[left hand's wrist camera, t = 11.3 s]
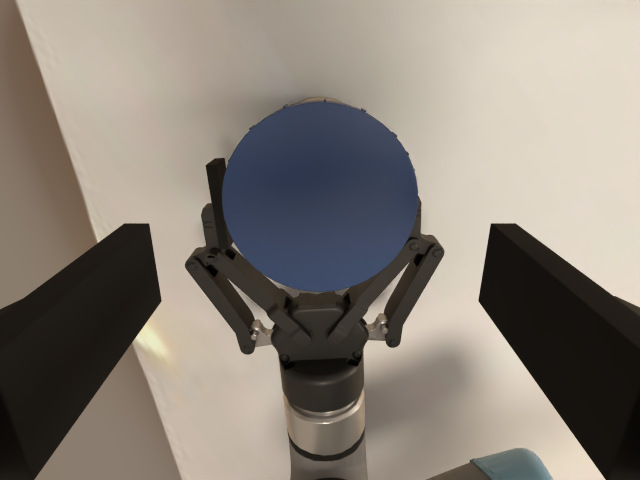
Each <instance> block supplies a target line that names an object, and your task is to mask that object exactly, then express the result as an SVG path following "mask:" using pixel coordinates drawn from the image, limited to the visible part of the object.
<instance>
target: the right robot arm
mask: <svg viewBox="0 0 640 480" xmlns="http://www.w3.org/2000/svg"><path fill="white" fill-rule="evenodd" d="M407 154H408V156H409V153H408V152H407ZM206 170H207V176H208V182H209V189H210V195H211V201H212V203H210V204H207V205H206V206H205V207H204V208H203V210H202V214H201V217H202V222H203V229H204V235H205V240H206V246H205V247H199V248H196V249H195V250H194V252H193V253H192V254H191V256H190V257H189V259H188V260H187V261H186V263H185V267H186V269H187V271H188V272H189V273H190V275H191V276H192V277H193V279H194V280H195V281H196V282H197V284H198V285H199V286H200V288H201V289H202V290H203V292H204V293H205V294H206V295H207V297H208V298H209V299H210V301H211V302H212V303H213V305H214V306H215V307H216V309H217V310H218V311H219V312H220V314H221V315H222V316H223V318H224V319H225V320H226V322H227V323H228V324H229V325H230V327H231V328H232V329H233V331H234V332H235V333H236V336H237V340H238V343H239V346H240V350H241V352H242V353H244V354H252V353H253V352H254V349H255V347H258V346H265V345H273V346H274V347H275V348H276V350H277V352H278V355H279V362H280V371H281V379H282V388H283V392H284V397H283V398H284V405H285V413H286V421H287V430H288V436H289V444H290V456H291V479H290V480H368V475H367V465H366V449H365V400H364V388H363V386H364V362H363V348H364V345H365V343H366V342H367V340H381V341H386V344H387V346H389V347H391V348H394V347H397V346H398V345H399V344H400V341H401V334H402V327H403V324H404V322H405V321H406V319H407V317H408V316H409V314H410V312H411V310H412V309H413V307H414V305H415V304H416V302H417V300H418V298H419V297H420V295H421V293H422V292H423V290H424V288H425V287H426V285H427V283H428V281H429V280H430V278H431V276H432V275H433V273H434V271H435V269H436V268H437V266H438V264H439V263H440V261H441V259H442V258H443V256H444V249H443V248H442V246H441V245H440V243H439V242H438V241H437V239H436V238H435V237H434V236H433V235H424V234H421V233H420V229H421V201H420V198H419V196H418V206H417V213H416V218H415V222H414V225H413V228H412V231H411V233H410V235H409V238H408V240H407V241H406V243H405V245H404V246H403V248H402V250H401V251H400V252H399V253H398V255H397V256H396V257H395V259H394V260H393V261H392V262H391V263H390V264H389V265H388V266H387V267H385V268H384V269H383V270H381V271H380V272H379V273H378V274H376V275H375V276H373V277H371V278H370V279H368V280H366V281H364V282H362V283H359V284H357V285H355V286H351V287H350V288H349V289H348V290H347V291H346V292H345V294H344V295H343V296H340V295H337V294H335V292H325V293H322V294H318V295H316V294H311V293H300V294H299V296H298V297H295V298H292V297H291V296H290V295H289V294H288V293H287V292H286V291H285V290H283V289H281V288H280V289H279V288H278V287H277V286H275V285H274V284H273V283H272V282H271V281H270V280H269V279H268V278H267V277H265V276H264V275H263V274H262V273H261V272H260V271H258V270H257V269H256V268H255V267H254V266H253V265H251V264H250V263H249V262H248V261H247V260H246V259H245V258H244V257H243V256H242V255H241V254H240V253H239V252H238V251H236V250H235V249H234V248H233V247H232V246H231V245H232V243H233V240H232V237H231V235H230V233H229V231H228V228H227V225H226V222H225V219H224V213H223V208H222V188H223V180H224V176H225V172H226V165H225V158H216V159H214V160H212V161H211V162H210V163H208V164H207V165H206ZM409 262H410V263H409ZM408 263H409V264H408ZM407 264H408V266H407V268H406V270H405V271H404V273H403V275H402V277H401V279H400V280H399V282H398V284H397V286H396V288H395V289H394V291H393V293H392V295H391V297H390V298H389V300H388V302H387V304H386V307H385V310H384V314H382V313H380V314H379V315H378V317H377V318H376V320H375V322H374V323H372V324H367V323H366V321H365V320H364V319H363V318H362V317H363V316H364V315H365V314H366V313H367V311H368V308H369V306H370V305H371V303H372V302H373V301H374V300H375V299H376V298H377V297H378V296H379V295H380V294H381V292H382V291H383V290H384V289H385V288H386V287H387V286H388V285H389V284H390V283H391V281H392V280H393V279H394V278H395V277H396V276H397V275H398V274H399V273H400V272H401V271H402V269H403V268H404V267H405V266H406V265H407ZM227 278H228V279H229V280H230V281H231V282H232V283H234V284H235V285H236V286H237V287H238V288H239V289H241V290H242V291H243V292H244V293H245V294H246V295H248V296H249V297H250V298H251V299H252V300H253V301H254V302H256V303H257V304H258V305H259V306H260V307H261V308H263V309H264V310H265V311H266V313H267V315H268V317H269V318H270V319H271V320H272V321H273V322H274V323H275V324H274V326H273V328H272V329H267V328H265V327H264V326H263V324H262V323H261V321H260V320H258V319H257V320H255V319H254V316H253V314H252V312H251V310H250V309H249V307H248V306H247V305H246V303H245V302H244V301H243V299H242V298H241V296H240V295H239V294H238V292H237V291H236V290H235V288H234V287H233V286H232V284H231V283H230V282H229V280H228V279H227ZM426 480H553V479H552V477H551V475H550V474H549V472H548V470H547V469H546V467H545V465H544V464H543V462H542V461H541V460H540V458H539V457H538V456H537V455H536V454H535V453H533V452H532V451H530V450H528V449H524V448H515V449H512V450H508V451H504V452H500V453H497V454H493V455H489V456H485V457H482V458H478V459H471V460H470V463H468V464H465V465H463V466H460V467H457V468H455V469H452V470H450V471H447V472H445V473H442V474H439V475H437V476H434V477H432V478H429V479H426Z"/></svg>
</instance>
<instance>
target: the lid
mask: <svg viewBox="0 0 640 480" xmlns="http://www.w3.org/2000/svg"><path fill="white" fill-rule="evenodd" d="M249 130H250V131H249V132H248V133H247V134H246V135H245V136H244V138H243V139H242V140H241V142H240V143H239V144H238V146H237V147H236V149H235V151H234V152H233V154H232V156H231V158H230V159H229V161H228V162H229V163H228V166H227V168H226V172H225V176H224V180H223V188H222V208H223V213H224V219H225V222H226V225H227V228H228V231H229V233H230V235H231V237H232V240H233V242H234V243H235V245H236V246H237V248H238V249H239V251H240V252H241V254H242V255H243V256H244V257H245V258H246V260H247V261H248V262H249V263H250V264H251V265H253V266H254V267H255V268H256V269H257V270H258V271H260V272H261V273H262V274H264V275H265V276H267V277H269V278H270V279H272V280H274V281H276V282H278V283H281V284H283V285H285V286H288V287H292V288H295V289H299V290H306V291H318V292H324V291H335V290H340V289H345V288H348V287H351V286H355V285H357V284H359V283H362V282H364V281H366V280H368V279H370V278H371V277H373V276H375V275H376V274H378V273H379V272H380V271H381V270H383V269H384V268H385V267H387V266H388V265H389V264H390V263H391V262H392V261H393V260H394V259H395V257H396V256H397V255H398V253H399V252H400V251H401V250H402V248H403V246H404V245H405V243H406V241H407V240H408V238H409V235H410V233H411V231H412V228H413V225H414V222H415V218H416V213H417V206H418V188H417V180H416V176H415V172H414V171H415V170H414V168H413V165H412V163H411V161H410V158H409V156H408V154H407V152H406V151H405V149H404V147H403V146H402V144H401V143H400V141H399V140H398V139H397V138H396V137H397V135H396V134H394V133H393V132H391V131H390V130H389V129H388V128H387V127H385V126H384V125H383V124H382V123H381V122H379V121H378V120H377V119H375V118H374V117H372V116H371V115H369V114H368V113H366V110H364V109H363V108H362V109H361V110H360V109H358V108H356V107H353V106H350V105H347V104H344V103H339V102H334V101H326V99H324V101H322V100H316V101H305V102H301V103H296V104H292V105H290V106H288V105H285V106H283V108H282V109H280V110H278V111H276V112H274V113H272V114H271V115H269V116H268V117H266V118H265V119H264V120H262V121H261V122H259V123H258V124H257V125H253V126H252V127H251V128H250V129H249Z"/></svg>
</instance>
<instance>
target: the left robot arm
mask: <svg viewBox="0 0 640 480" xmlns="http://www.w3.org/2000/svg"><path fill="white" fill-rule="evenodd" d="M160 302H161V295H160V288H159V282H158V276H157V270H156V264H155V258H154V251H153V245H152V239H151V233H150V227H149V224H123V225H122V226H120V227H119V228H118V229H116V230H115V231H114V232H112V233H111V234H110V235H108V236H107V237H106V238H104V239H103V240H102V241H100V242H99V243H98V244H96V245H95V246H94V247H92V248H91V249H90V250H88V251H87V252H85V253H84V254H83V255H81V256H80V257H79V258H77V259H76V260H75V261H73V262H72V263H71V264H69V265H68V266H67V267H65V268H64V269H62V270H61V271H60V272H59V273H57V274H56V275H54V276H53V277H52V278H50V279H49V280H48V281H46V282H45V283H44V284H42V285H41V286H40V287H38V288H37V289H36V290H34V291H33V292H31V293H30V294H29V295H27V296H26V297H25V298H23V299H21V300H19V301H17V302H15V303H13V304H11V305H8V306H6V307H4V308H2V309H0V480H34V479H35V478H36V476H37V475H38V474H39V472H40V471H41V469H42V468H43V467H44V465H45V464H46V462H47V461H48V460H49V458H50V457H51V455H52V454H53V453H54V451H55V450H56V448H57V447H58V446H59V444H60V443H61V441H62V440H63V439H64V437H65V436H66V434H67V433H68V432H69V430H70V429H71V427H72V426H73V425H74V423H75V422H76V420H77V419H78V417H79V416H80V415H81V413H82V412H83V411H84V409H85V408H86V406H87V405H88V404H89V402H90V401H91V399H92V398H93V396H94V395H95V394H96V392H97V391H98V389H99V388H100V387H101V385H102V384H103V382H104V381H105V380H106V378H107V377H108V375H109V374H110V372H111V371H112V370H113V368H114V367H115V366H116V364H117V363H118V361H119V360H120V359H121V357H122V356H123V354H124V353H125V352H126V350H127V349H128V347H129V346H130V345H131V343H132V342H133V340H134V339H135V338H136V336H137V335H138V333H139V332H140V331H141V329H142V328H143V326H144V325H145V324H146V322H147V321H148V319H149V318H150V316H151V315H152V314H153V312H154V311H155V309H156V308H157V307H158V305H159V304H160ZM479 302H480V304H481V305H482V307H483V308H484V309H485V311H486V312H487V314H488V315H489V316H490V318H491V319H492V321H493V322H494V324H495V325H496V326H497V328H498V329H499V331H500V332H501V333H502V335H503V336H504V338H505V339H506V340H507V342H508V343H509V345H510V346H511V347H512V349H513V350H514V352H515V353H516V354H517V356H518V357H519V359H520V360H521V361H522V363H523V364H524V366H525V367H526V368H527V370H528V371H529V373H530V374H531V375H532V377H533V378H534V380H535V381H536V382H537V384H538V385H539V387H540V388H541V389H542V391H543V392H544V394H545V395H546V396H547V398H548V399H549V401H550V402H551V404H552V405H553V406H554V408H555V409H556V411H557V412H558V413H559V415H560V416H561V418H562V419H563V420H564V422H565V423H566V425H567V426H568V427H569V429H570V430H571V432H572V433H573V434H574V436H575V437H576V439H577V440H578V441H579V443H580V444H581V446H582V447H583V448H584V450H585V451H586V453H587V454H588V455H589V457H590V458H591V460H592V461H593V462H594V464H595V465H596V467H597V468H598V469H599V471H600V472H601V474H602V475H603V476H604V478H605V479H606V480H640V307H638V306H635V305H633V304H631V303H629V302H627V301H625V300H622V299H620V298H618V297H616V296H613V295H611V294H610V293H609V292H607V291H606V290H604V289H603V288H602V287H600V286H599V285H598V284H596V283H595V282H594V281H592V280H591V279H590V278H588V277H587V276H586V275H584V274H583V273H582V272H580V271H579V270H578V269H576V268H575V267H573V266H572V265H571V264H569V263H568V262H567V261H565V260H564V259H563V258H561V257H560V256H559V255H557V254H556V253H555V252H553V251H552V250H551V249H549V248H548V247H546V246H545V245H544V244H542V243H541V242H540V241H538V240H537V239H536V238H534V237H533V236H532V235H530V234H529V233H528V232H526V231H525V230H524V229H522V228H521V227H520V226H518V225H517V224H491V227H490V233H489V239H488V245H487V251H486V258H485V264H484V270H483V276H482V282H481V288H480V295H479Z"/></svg>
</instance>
